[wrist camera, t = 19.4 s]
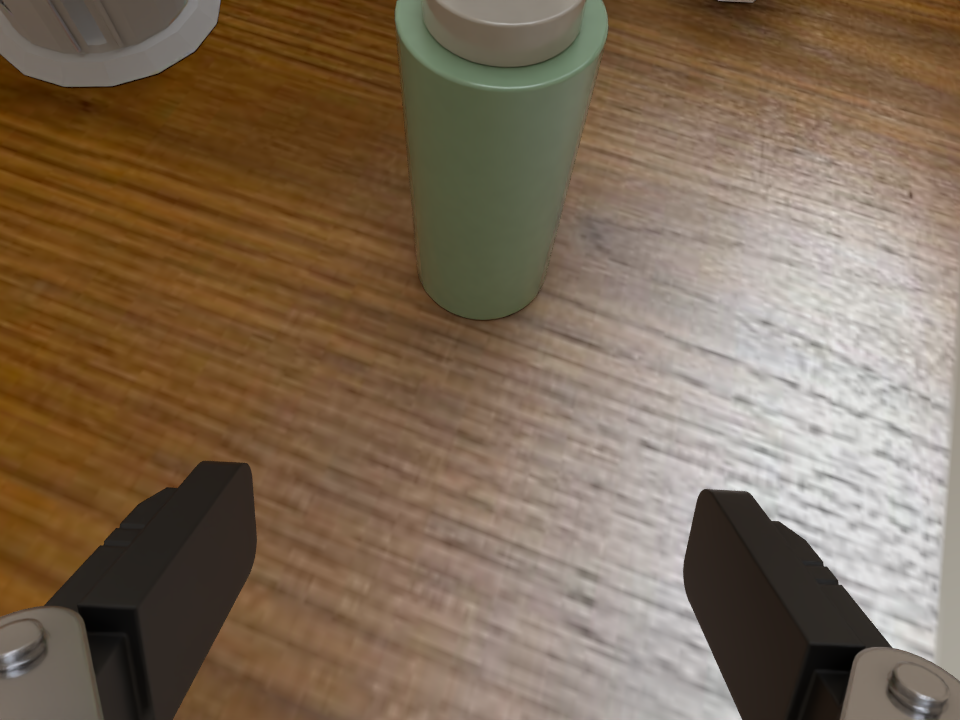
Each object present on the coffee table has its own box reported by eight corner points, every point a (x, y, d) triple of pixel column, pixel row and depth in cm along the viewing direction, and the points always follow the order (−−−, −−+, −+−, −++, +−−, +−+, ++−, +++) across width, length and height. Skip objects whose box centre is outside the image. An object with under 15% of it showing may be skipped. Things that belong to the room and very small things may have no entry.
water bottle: (563, 237, 23) (647, -65, 13) (519, 340, 21) (578, 76, 11) (448, 196, 24) (446, -123, 14) (395, 292, 22) (349, 1, 12)
